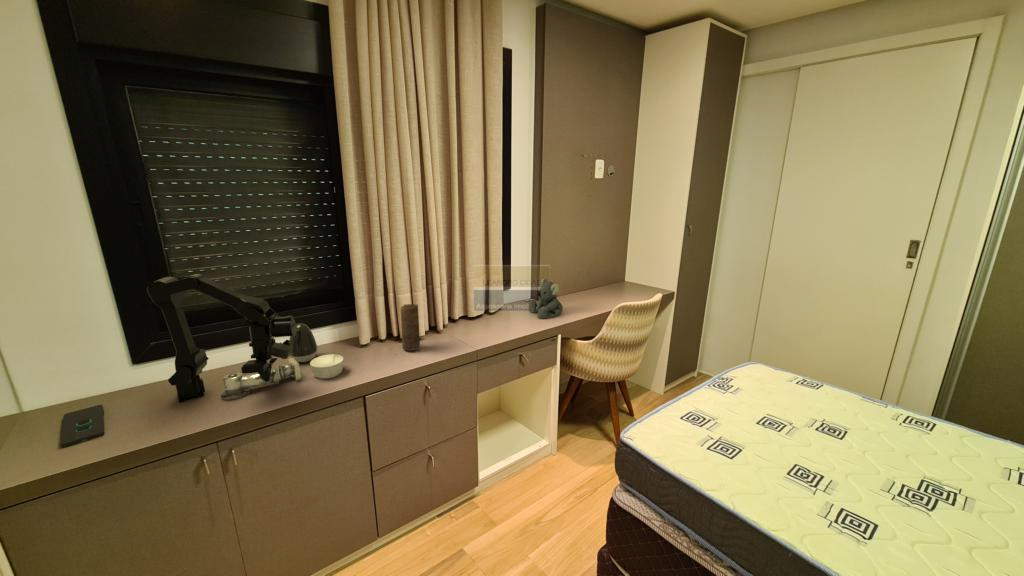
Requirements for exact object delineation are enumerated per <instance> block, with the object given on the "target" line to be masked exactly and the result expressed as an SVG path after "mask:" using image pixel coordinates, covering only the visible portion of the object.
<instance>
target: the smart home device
mask: <svg viewBox="0 0 1024 576" xmlns="http://www.w3.org/2000/svg"><path fill="white" fill-rule="evenodd" d="M104 416H105V409H104V406H103V404H97V405H94V406H89V407H85V408H82V409H79V410H74V411H70V412H67V413H64V414H63V418H62V423H61V433H60V442H59V444H60V447H61V448H62V449H65V448H68V447H71V446H75V445H78V444H81V443H85V442H87V441H91V440H94V439H97V438H101V437H103V436H105V419H104V418H105V417H104Z"/></svg>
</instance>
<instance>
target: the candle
mask: <svg viewBox="0 0 1024 576" xmlns="http://www.w3.org/2000/svg"><path fill="white" fill-rule="evenodd" d="M419 321H420V320H419V305H418V304H417V303H406V304H403V305H402V306H401V307H400V323H401V325H400V327H401V343H402V350H405V351H417V350H420V349H421V343H420V342H421V340H420V339H421V338H420V323H419Z"/></svg>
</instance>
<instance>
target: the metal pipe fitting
mask: <svg viewBox="0 0 1024 576" xmlns="http://www.w3.org/2000/svg"><path fill="white" fill-rule="evenodd" d="M276 368H277V373H278V379H279V381H283V380H284V379H285V378H288V377H293V378H294V379H295V381H300V380H302V378H301V377H302V376H301V371H300V370H301V369H300V363H299V362H297V361H296V360H295V359H294V358H291V357H290V358H288V363H285V364H283V365H281V364H276ZM250 392H251V388H250V389H245V390H244V391H243V392H241V393H239V394H236V395H226V392H225V390H224V391H222V392H221V394H220V398H221V400H224V401H233V400H238V399H241V398H243V397H246V396H247V395H248V394H249V393H250Z"/></svg>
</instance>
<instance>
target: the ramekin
mask: <svg viewBox="0 0 1024 576" xmlns="http://www.w3.org/2000/svg"><path fill="white" fill-rule="evenodd" d="M344 361H345V359H344V356H342V355H339V354H333V353H332V354H331V353H330V354H324V355H320V356H317V357H314V358H313V359H311V360H310V361H309V365H310V368H311V370H312V373H313V376H314V377H315V378H318V379H320V380H321V379H322V380H324V379H332V378H334V377H337V376H338V375H340V374H341V373H342V371H343V367H344Z"/></svg>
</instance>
